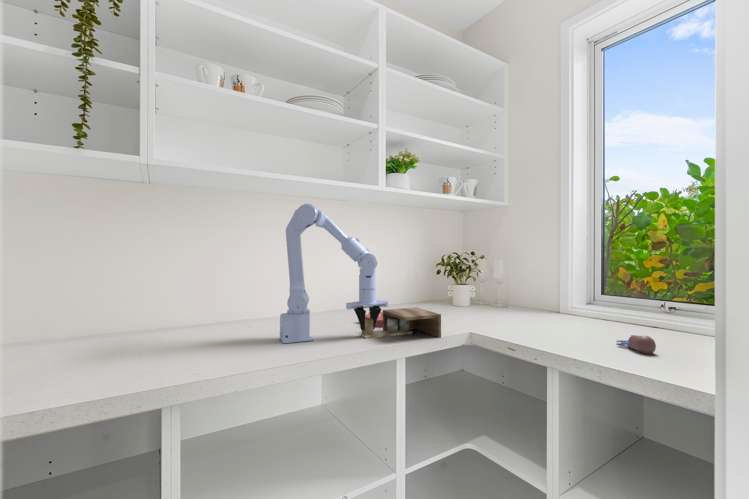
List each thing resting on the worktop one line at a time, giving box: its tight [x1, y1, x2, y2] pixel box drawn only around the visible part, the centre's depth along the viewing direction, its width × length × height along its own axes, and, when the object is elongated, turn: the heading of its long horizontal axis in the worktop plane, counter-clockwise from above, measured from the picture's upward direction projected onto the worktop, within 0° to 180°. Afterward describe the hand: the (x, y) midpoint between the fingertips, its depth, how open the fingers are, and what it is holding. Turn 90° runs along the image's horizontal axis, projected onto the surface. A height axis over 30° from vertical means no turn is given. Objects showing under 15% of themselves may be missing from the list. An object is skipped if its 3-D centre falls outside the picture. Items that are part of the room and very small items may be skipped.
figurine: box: [616, 334, 657, 355], centre depth 99 cm, size 5×5×12 cm
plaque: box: [365, 311, 383, 329], centre depth 137 cm, size 18×4×15 cm
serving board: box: [360, 318, 413, 340], centre depth 117 cm, size 18×5×6 cm, turn 114°
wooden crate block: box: [382, 307, 442, 339], centre depth 117 cm, size 14×16×8 cm
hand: (367, 329), depth 114 cm, fingers closed on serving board, 3 cm apart
